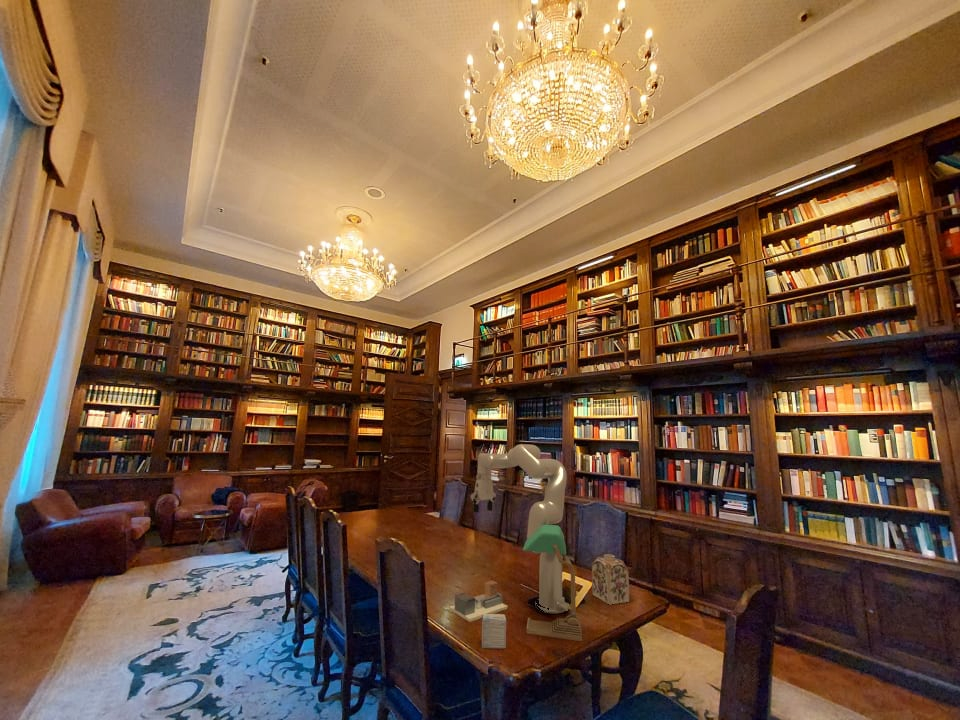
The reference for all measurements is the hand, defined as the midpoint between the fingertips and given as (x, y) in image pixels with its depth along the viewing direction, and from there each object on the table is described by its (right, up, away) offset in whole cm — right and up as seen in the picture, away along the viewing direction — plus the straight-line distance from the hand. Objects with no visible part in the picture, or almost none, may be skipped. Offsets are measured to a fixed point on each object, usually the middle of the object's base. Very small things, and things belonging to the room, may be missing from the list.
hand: (482, 511), depth 196 cm
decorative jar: (+57, -28, -28) cm, 70 cm away
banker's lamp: (+25, -20, -60) cm, 68 cm away
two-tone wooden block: (0, -21, -42) cm, 47 cm away
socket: (-8, -20, -49) cm, 53 cm away
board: (-2, -22, -44) cm, 49 cm away
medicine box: (+3, -17, -71) cm, 73 cm away
